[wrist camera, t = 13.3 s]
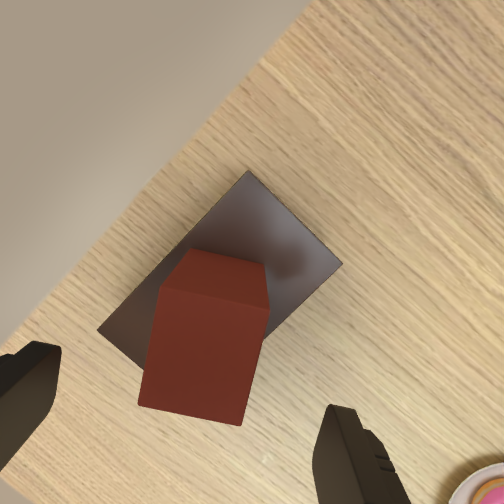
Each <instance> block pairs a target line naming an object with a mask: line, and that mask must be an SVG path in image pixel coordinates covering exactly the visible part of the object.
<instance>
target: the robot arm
mask: <svg viewBox="0 0 504 504" xmlns="http://www.w3.org/2000/svg"><path fill="white" fill-rule="evenodd" d="M61 354H62V350H61V347H60V346H57V345H53V344H48V343H43V342H38V341H31V342H30V343H29V344H27V345H26V346H25V347H23V348H22V349H21V350H20V351H18V352H17V353H16V354H14V355H13V354H5V355H2V356H0V471H1V470H2V469H3V468H4V467H5V465H6V464H7V463H8V462H9V461H10V459H11V458H12V457H13V456H14V455H15V453H16V452H17V451H18V450H19V449H20V447H21V446H22V445H23V444H24V443H25V441H26V440H27V439H28V438H29V437H30V435H31V434H32V433H33V432H34V431H35V429H36V428H37V427H38V426H39V425H40V423H41V422H42V421H43V420H44V419H45V417H46V416H47V415H48V413H49V411H50V409H51V407H52V405H53V402H54V399H55V396H56V390H57V383H58V375H59V368H60V361H61ZM312 470H313V476H314V481H315V486H316V491H317V496H318V502H319V504H411V502H410V500H409V498H408V496H407V494H406V492H405V490H404V487H403V485H402V483H401V481H400V479H399V477H398V475H397V473H395V468H394V466H393V464H392V462H391V461H390V458H389V456H388V453H387V451H386V449H385V447H384V445H383V443H382V442H381V441H380V440H379V439H378V438H377V437H376V436H375V435H374V434H373V433H372V431H371V430H366V429H363V427H362V424H361V422H360V419H359V417H358V415H357V412H356V411H355V409H351V408H347V407H342V406H337V405H332V404H329V405H328V407H327V408H326V411H325V414H324V418H323V421H322V424H321V427H320V431H319V434H318V437H317V441H316V444H315V447H314V451H313V459H312Z"/></svg>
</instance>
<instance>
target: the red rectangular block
mask: <svg viewBox="0 0 504 504" xmlns="http://www.w3.org/2000/svg"><path fill="white" fill-rule="evenodd" d="M269 315H270V305H269V298H268V290H267V283H266V276H265V268H264V265H263V264H260V263H255V262H251V261H246V260H242V259H238V258H233V257H229V256H224V255H220V254H215V253H211V252H206V251H202V250H198V249H193V248H190V249H189V251H188V252H187V253H186V254H185V256H184V257H183V258H182V260H181V261H180V262H179V263H178V265H177V266H176V267H175V268H174V270H173V271H172V272H171V273H170V275H169V276H168V277H167V279H166V280H165V281H164V282H163V284H162V285H161V286H160V289H159V294H158V299H157V304H156V310H155V315H154V320H153V325H152V330H151V336H150V341H149V346H148V351H147V356H146V362H145V367H144V372H143V377H142V383H141V388H140V393H139V398H138V406H142V407H147V408H152V409H157V410H162V411H167V412H172V413H177V414H181V415H186V416H191V417H196V418H201V419H206V420H211V421H216V422H220V423H225V424H230V425H235V426H241V425H242V421H243V417H244V413H245V409H246V405H247V402H248V398H249V394H250V390H251V386H252V382H253V378H254V374H255V370H256V366H257V362H258V358H259V354H260V350H261V346H262V342H263V339H264V335H265V331H266V327H267V323H268V319H269Z"/></svg>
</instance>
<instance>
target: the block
mask: <svg viewBox="0 0 504 504" xmlns="http://www.w3.org/2000/svg"><path fill="white" fill-rule="evenodd" d="M190 248H193V249H198V250H202V251H206V252H211V253H215V254H220V255H224V256H229V257H233V258H238V259H242V260H246V261H251V262H255V263H260V264H263V265H264V268H265V276H266V283H267V290H268V298H269V305H270V315H269V319H268V323H267V327H266V331H265V335H264V339H265V338H266V337H267V336H268V335H269V334H270V333H271V332H273V331H274V330H275V329H276V328H277V327H278V326H279V325H280V324H281V323H282V322H283V321H284V320H285V319H286V318H287V317H288V316H289V315H290V314H291V313H292V312H293V311H294V310H295V309H296V308H298V307H299V306H300V305H301V304H302V303H303V302H304V301H305V300H306V299H307V298H308V297H309V296H310V295H311V294H312V293H313V292H314V291H315V290H316V289H317V288H318V287H319V286H320V285H322V284H323V283H324V282H325V281H326V280H327V279H328V278H329V277H330V276H331V275H332V274H333V273H334V272H335V271H336V270H337V269H338V268H339V267H340V266H341V265H342V264H343V263H342V262H341V261H340V260H339V259H338V258H337V257H336V256H335V255H334V254H333V253H332V252H331V251H330V250H329V249H328V248H327V247H326V246H325V245H324V244H323V243H322V242H321V241H320V240H319V239H318V238H317V237H316V236H315V235H314V234H313V233H312V232H311V231H310V230H309V229H308V228H307V227H306V226H305V225H304V224H303V223H302V222H301V221H300V220H299V219H298V218H297V217H296V216H295V215H294V214H293V213H292V212H291V211H290V210H289V209H288V208H287V207H286V206H285V205H284V204H283V203H282V202H281V201H280V200H279V199H278V198H277V197H276V196H275V195H274V194H273V193H272V192H271V191H270V190H269V189H268V188H267V187H266V186H265V185H264V184H263V183H262V182H261V181H260V180H259V179H258V178H256V177H255V176H254V175H253V174H252V173H251V172H250V171H249V170H247V172H246V173H245V174H244V175H243V176H242V177H241V178H240V179H239V180H238V181H237V182H236V183H235V184H234V185H233V186H232V187H231V188H230V190H229V191H228V192H227V193H226V194H225V195H224V196H223V197H222V198H221V199H220V200H219V201H218V202H217V203H216V204H215V205H214V206H213V207H212V209H211V210H210V211H209V212H208V213H207V214H206V215H205V216H204V217H203V218H202V219H201V220H200V221H199V222H198V223H197V224H196V225H195V227H194V228H193V229H192V230H191V231H190V232H189V233H188V234H187V235H186V236H185V237H184V238H183V239H182V240H181V241H180V242H179V243H178V244H177V246H176V247H175V248H174V249H173V250H172V251H171V252H170V253H169V254H168V255H167V256H166V257H165V258H164V259H163V260H162V261H161V262H160V263H159V265H158V266H157V267H156V268H155V269H154V270H153V271H152V272H151V273H150V274H149V275H148V276H147V277H146V278H145V279H144V280H143V281H142V283H141V284H140V285H139V286H138V287H137V288H136V289H135V290H134V291H133V292H132V293H131V294H130V295H129V296H128V297H127V298H126V299H125V300H124V302H123V303H122V304H121V305H120V306H119V307H118V308H117V309H116V310H115V311H114V312H113V313H112V314H111V315H110V316H109V317H108V318H107V319H106V321H105V322H104V323H103V324H102V325H101V326H100V327H99V328H98V329H97V331H98V332H99V333H100V334H101V335H102V336H104V337H105V338H106V339H107V340H108V341H110V342H111V343H112V344H113V345H114V346H116V347H117V348H118V349H119V350H120V351H121V352H123V353H124V354H125V355H126V356H127V357H129V358H130V359H131V360H132V361H133V362H134V363H136V364H137V365H138V366H139V367H140V368H142V369H143V370H144V367H145V362H146V356H147V351H148V346H149V341H150V336H151V330H152V325H153V320H154V315H155V310H156V304H157V299H158V294H159V289H160V286H161V285H162V284H163V282H164V281H165V280H166V279H167V277H168V276H169V275H170V273H171V272H172V271H173V270H174V268H175V267H176V266H177V265H178V263H179V262H180V261H181V260H182V258H183V257H184V256H185V254H186V253H187V252H188V251H189V249H190ZM264 339H263V340H264Z"/></svg>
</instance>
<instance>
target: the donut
mask: <svg viewBox="0 0 504 504" xmlns="http://www.w3.org/2000/svg"><path fill="white" fill-rule="evenodd" d="M448 504H504V462H503V463H497V464H492V465H489V466H487V467H484V468H482V469H479V470H478V471H476V472H475V473H473V474H471V475H470V476H469V477H467V478H466V479H465V480H464V481H463V482H462V483H461V484H460V485H459V486H458V488H457V489H456V490H455V491H454V493H453V495H452V496H451V498H450V500H449V502H448Z"/></svg>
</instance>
